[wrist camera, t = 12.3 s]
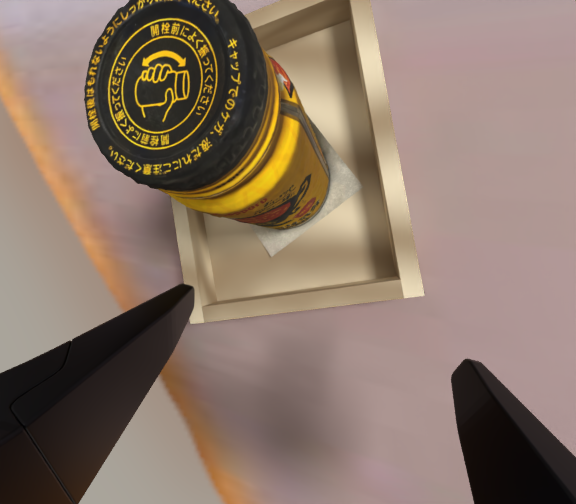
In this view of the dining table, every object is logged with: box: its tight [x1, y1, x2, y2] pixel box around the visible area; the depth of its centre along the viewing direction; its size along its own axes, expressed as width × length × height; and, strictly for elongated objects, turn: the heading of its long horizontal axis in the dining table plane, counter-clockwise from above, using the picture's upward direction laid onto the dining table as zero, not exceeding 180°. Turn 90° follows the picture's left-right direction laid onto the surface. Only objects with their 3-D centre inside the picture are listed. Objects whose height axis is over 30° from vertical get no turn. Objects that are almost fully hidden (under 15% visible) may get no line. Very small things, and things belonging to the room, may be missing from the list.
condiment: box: [84, 0, 363, 257], centre depth 13 cm, size 7×8×12 cm
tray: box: [171, 0, 424, 324], centre depth 18 cm, size 18×14×3 cm
